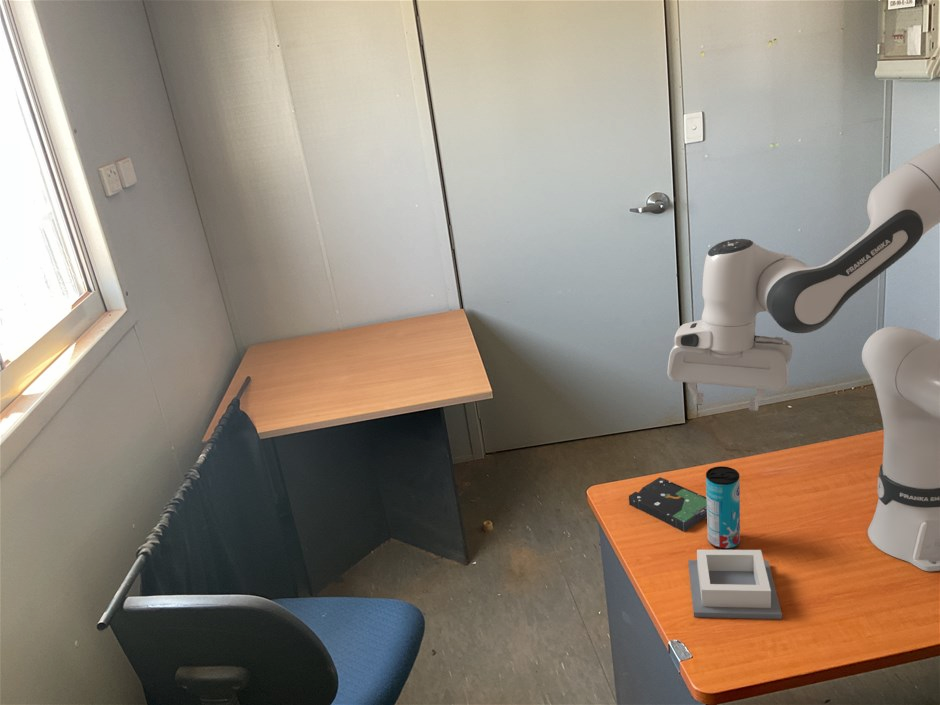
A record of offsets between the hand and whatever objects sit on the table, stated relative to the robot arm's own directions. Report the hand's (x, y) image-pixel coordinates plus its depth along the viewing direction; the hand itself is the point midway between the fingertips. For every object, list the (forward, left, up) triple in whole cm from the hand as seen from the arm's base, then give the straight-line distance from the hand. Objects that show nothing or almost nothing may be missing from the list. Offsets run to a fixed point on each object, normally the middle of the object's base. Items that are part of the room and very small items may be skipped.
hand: (725, 406), depth 138 cm
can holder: (+1, +15, -29) cm, 32 cm away
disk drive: (+10, -11, -29) cm, 33 cm away
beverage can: (+1, +1, -29) cm, 29 cm away
